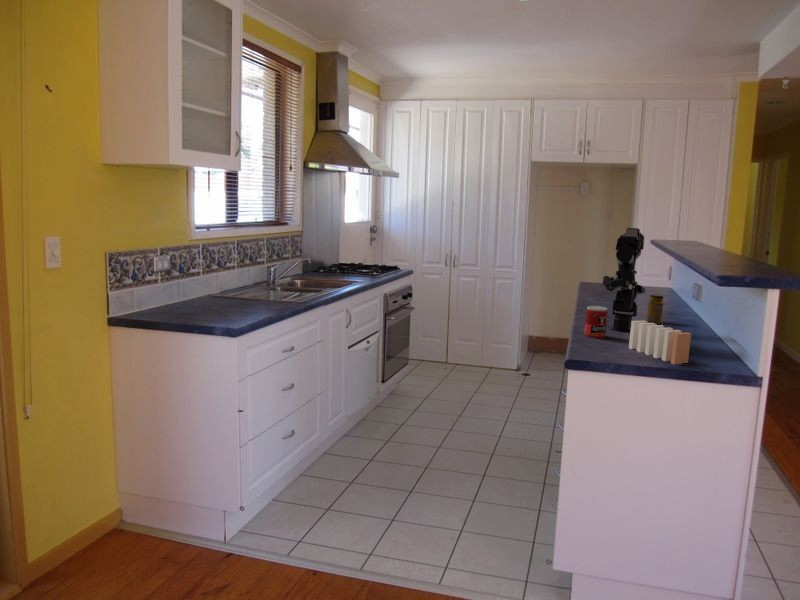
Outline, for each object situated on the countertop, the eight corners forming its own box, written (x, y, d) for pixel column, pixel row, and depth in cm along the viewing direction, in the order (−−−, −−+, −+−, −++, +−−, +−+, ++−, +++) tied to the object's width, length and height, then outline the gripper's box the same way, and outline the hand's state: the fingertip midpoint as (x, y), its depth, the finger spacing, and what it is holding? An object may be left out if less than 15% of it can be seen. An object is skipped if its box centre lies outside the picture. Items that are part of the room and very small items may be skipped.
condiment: (662, 322, 288) (665, 295, 286) (661, 325, 280) (664, 297, 278) (644, 320, 291) (647, 293, 289) (643, 323, 283) (646, 295, 281)
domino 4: (652, 357, 222) (656, 327, 220) (666, 356, 224) (669, 327, 222) (656, 358, 220) (659, 328, 219) (669, 357, 222) (672, 328, 221)
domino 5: (661, 360, 218) (665, 330, 216) (674, 359, 220) (678, 329, 218) (665, 361, 217) (668, 331, 215) (678, 360, 219) (681, 330, 217)
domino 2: (636, 351, 229) (639, 323, 227) (649, 350, 231) (652, 322, 230) (639, 352, 228) (642, 324, 226) (652, 351, 230) (655, 323, 228)
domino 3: (644, 354, 225) (647, 325, 224) (657, 353, 227) (660, 325, 226) (647, 355, 224) (651, 326, 222) (660, 354, 226) (664, 325, 224)
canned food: (591, 338, 247) (594, 309, 245) (580, 333, 254) (582, 305, 252) (609, 338, 249) (612, 309, 247) (597, 333, 256) (600, 305, 255)
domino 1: (628, 348, 233) (631, 320, 231) (641, 347, 235) (644, 320, 233) (631, 349, 231) (634, 321, 230) (644, 349, 233) (647, 321, 232)
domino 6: (670, 363, 214) (674, 333, 213) (683, 362, 216) (687, 332, 215) (674, 364, 213) (677, 334, 211) (687, 363, 215) (691, 333, 213)
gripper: (616, 275, 257) (618, 315, 254) (594, 267, 243) (596, 309, 241) (644, 271, 250) (647, 312, 247) (623, 262, 236) (626, 305, 233)
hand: (628, 309), depth 242 cm, fingers closed
